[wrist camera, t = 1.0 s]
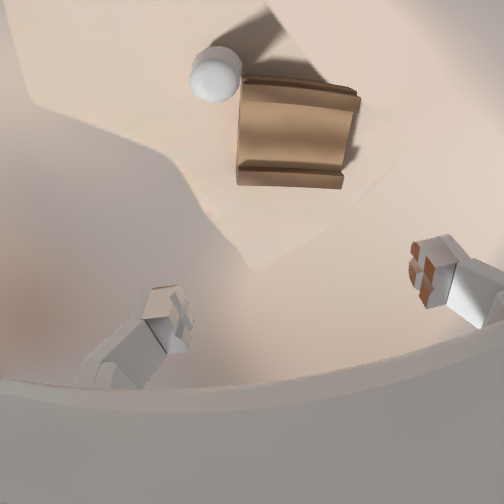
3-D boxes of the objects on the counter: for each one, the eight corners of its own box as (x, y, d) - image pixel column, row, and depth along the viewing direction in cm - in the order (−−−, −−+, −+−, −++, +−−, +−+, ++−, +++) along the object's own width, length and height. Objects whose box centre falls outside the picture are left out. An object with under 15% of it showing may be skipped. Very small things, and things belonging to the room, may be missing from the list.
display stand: (241, 75, 32) (243, 80, 29) (348, 87, 34) (362, 94, 31) (235, 173, 42) (237, 188, 38) (330, 177, 43) (340, 192, 40)
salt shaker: (247, 52, 31) (259, 59, 21) (233, 93, 34) (239, 120, 24) (199, 41, 29) (188, 43, 19) (188, 83, 32) (172, 106, 23)
